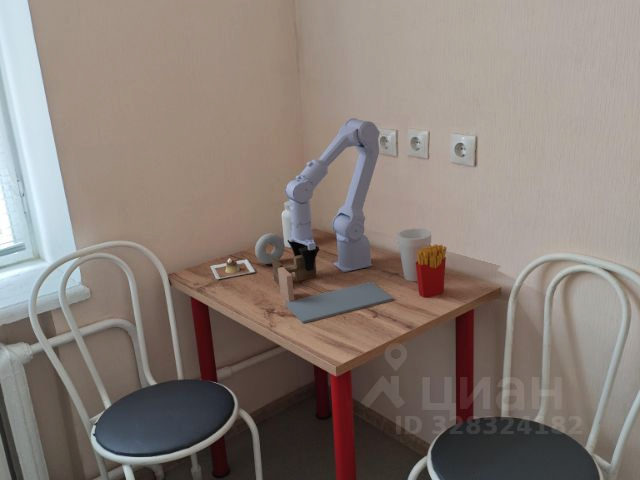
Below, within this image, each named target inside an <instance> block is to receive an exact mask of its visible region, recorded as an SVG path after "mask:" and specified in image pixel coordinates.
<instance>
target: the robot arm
mask: <svg viewBox="0 0 640 480" xmlns="http://www.w3.org/2000/svg"><path fill="white" fill-rule="evenodd" d="M380 134H381V133H380V130H379V129H378V127H377V126H376V124H375V123H374V122H372V121H369V120H368V121H367V120H362V119H358V118H354V117H353V118H350V119H348V120H346V122H345V123H344V124H343V125H342V126H340V128H339V131H338V133H337V135H336V136H335V137H334V138H333V140H332V141H331V142H330V144H329V145H328V147H326V149H325V150H324V151H323V153H322V154H321V156H319V157H318V158H316V159H312V160H311V161H307V162H306V164H305V165H306V167H305V168H304V169H303V170H302V171H301V172H300V174H297V175H296V176H295V179H294V180H291V181H289V182H288V183H287V185H286V188H285V190H284V194H285V195H286V197H287V198H288V199H289V200H288V201H289V202H290V214H291V225H292V230H291V238H289V240H288V243H289V244H290V246H291V248H290V249H291V250H292V253H293V257H294V256H298V255H302V257H303V261H304V265H305V269H306V271H310V270H313V269H314V263H315V261H316V258H317V255H318V253H319V251H320V247H319V246H318V245H316V242H315V240H314V235H313V229H312V228H313V227H312V214H311V205H310V202H311V201H310V200H311V199H312V197H313V195H314V191H315V188H316V187H317V186H318V185H319V184H320V183H321V181H322V180H323V179H324V178H325V177H326V175H328V173H329V171H328V169H329V166H330V165H331V164H332V163H333V162H334V161H335V160H336V159H337V158H338V157H339V156H340V155H341V154H342V153H343V152H344V151H345V150H346V149H347V148H350V147H355V148H356V150H357V152H358V154H359V155H358V157H357V161H356V165H355V168H354V171H353V175H352V179H351V182H350V185H349V188H348V190H347V195H346V199H345V202H344V205H342V206H341V207H339V208H338V211H337V213H336V215H335V216H334V218H333V219H332V222H331V227H332V230H333V232H334V233H336V245H337V246H336V248H337V261H335V262H333V265H334V266H335V267H337V268H338V269H339V270H341V271H342V272H344V273H347V272H351V271H352V272H353V271H356V270H360V269H364V268H369V267H372V266H373V264H372V258H371V257H372V256H371V245H370V240H369V238H368V237H367V236H366V235H365V220H366V216H365V214H364V211H363V208H364V204H365V203H366V199H367V198H366V197H367V195H368V192H369V189H370V185H371V181H372V178H373V175H374V172H375V168H376V165H377V162H378V157H379V155H380V145H379V144H380V143H379V138H380Z"/></svg>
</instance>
